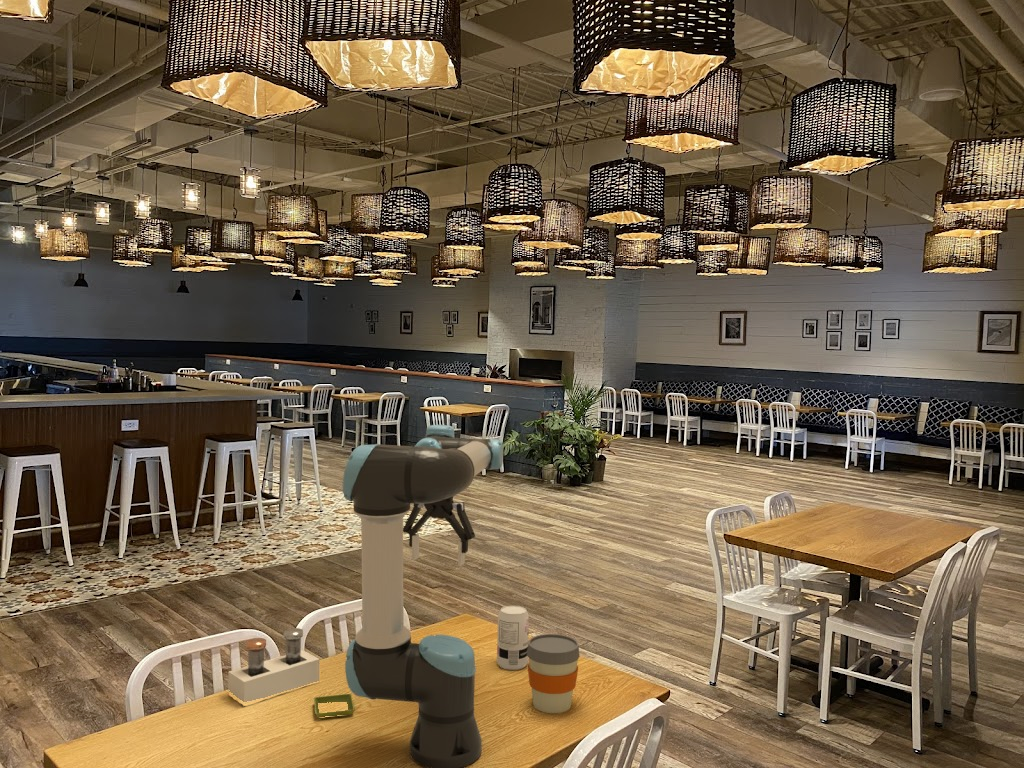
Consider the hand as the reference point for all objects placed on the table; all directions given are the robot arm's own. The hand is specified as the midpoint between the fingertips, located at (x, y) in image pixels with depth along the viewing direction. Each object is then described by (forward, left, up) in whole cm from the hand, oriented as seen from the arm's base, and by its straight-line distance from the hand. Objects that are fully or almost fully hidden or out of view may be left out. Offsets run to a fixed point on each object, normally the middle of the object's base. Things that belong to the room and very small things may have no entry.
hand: (438, 561), depth 214 cm
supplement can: (+4, -20, -27) cm, 34 cm away
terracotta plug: (-33, +34, -22) cm, 52 cm away
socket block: (-28, +32, -27) cm, 50 cm away
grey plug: (-24, +29, -22) cm, 44 cm away
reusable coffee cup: (-16, -35, -27) cm, 47 cm away
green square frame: (-34, +13, -28) cm, 46 cm away
